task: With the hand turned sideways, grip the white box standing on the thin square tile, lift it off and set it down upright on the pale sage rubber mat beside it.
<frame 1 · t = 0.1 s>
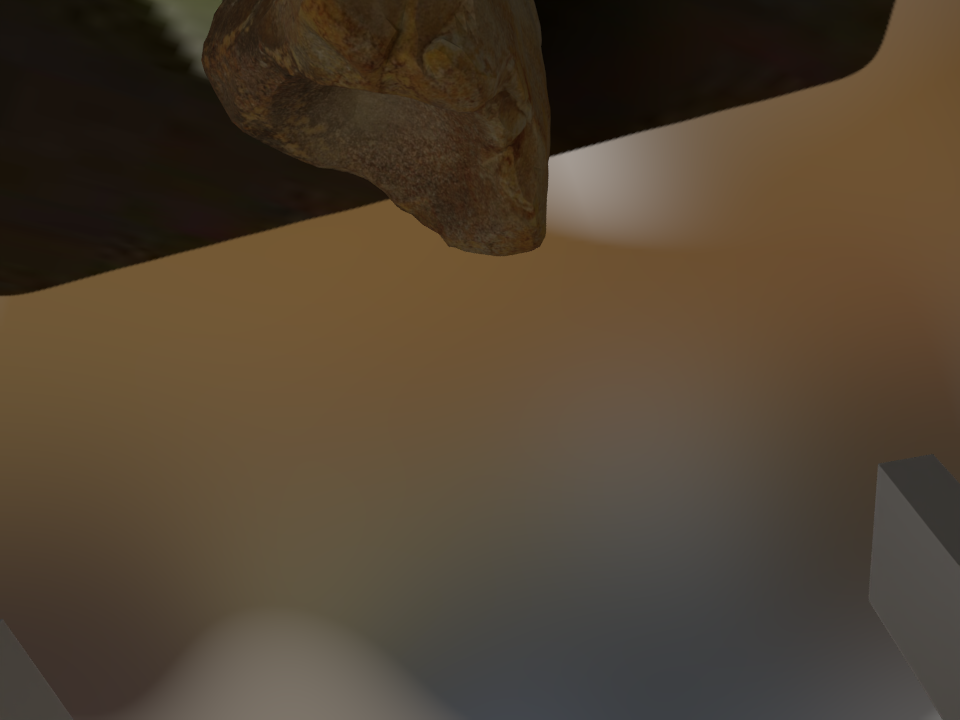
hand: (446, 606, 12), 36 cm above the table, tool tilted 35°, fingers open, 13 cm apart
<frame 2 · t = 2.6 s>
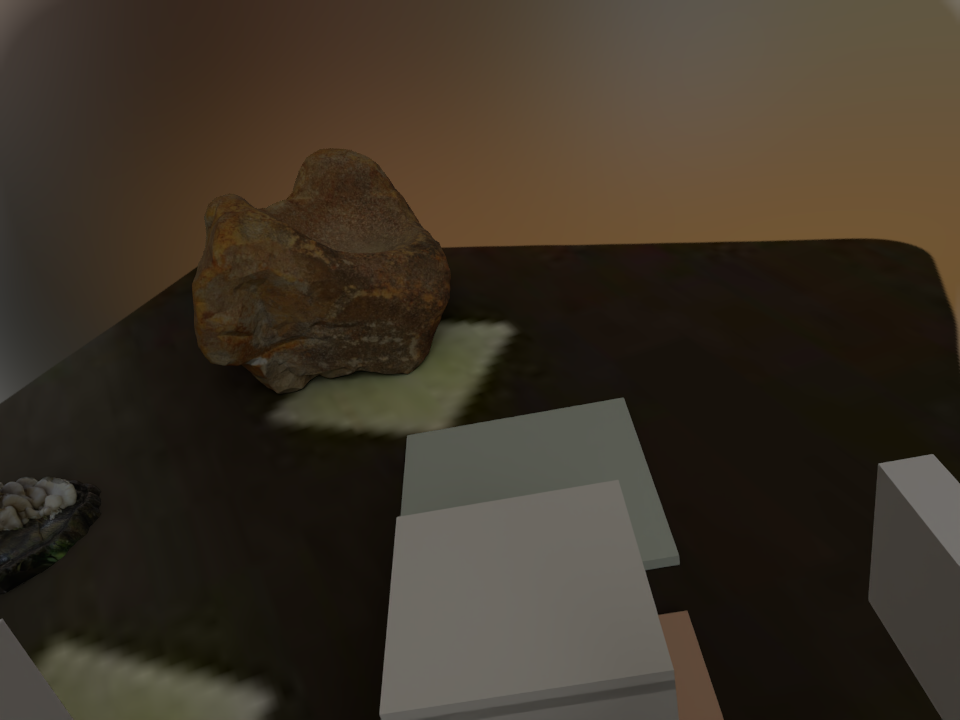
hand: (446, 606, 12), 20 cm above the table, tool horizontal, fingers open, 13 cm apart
rough brown rock: (369, 352, 64), on the table
mat: (524, 494, 45), on the table
log: (11, 547, 51), on the table
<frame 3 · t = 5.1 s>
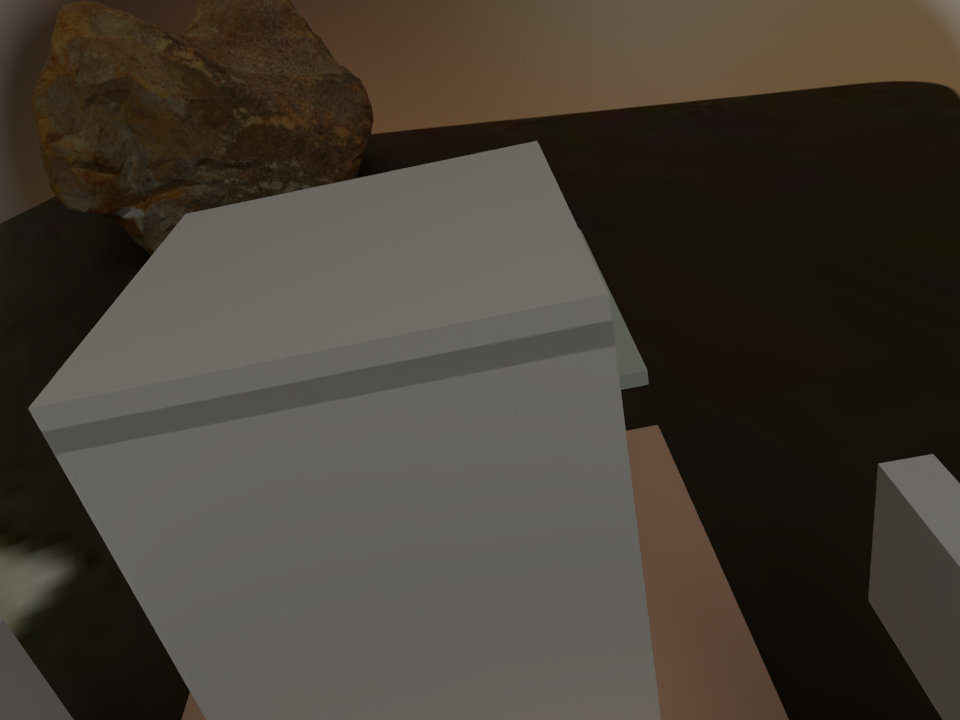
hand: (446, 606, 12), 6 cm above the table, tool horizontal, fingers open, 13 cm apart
rough brown rock: (282, 222, 53), on the table
mat: (448, 331, 34), on the table
thin square tile: (463, 650, 19), on the table
white box: (456, 628, 19), point 1 cm above the table, touching thin square tile
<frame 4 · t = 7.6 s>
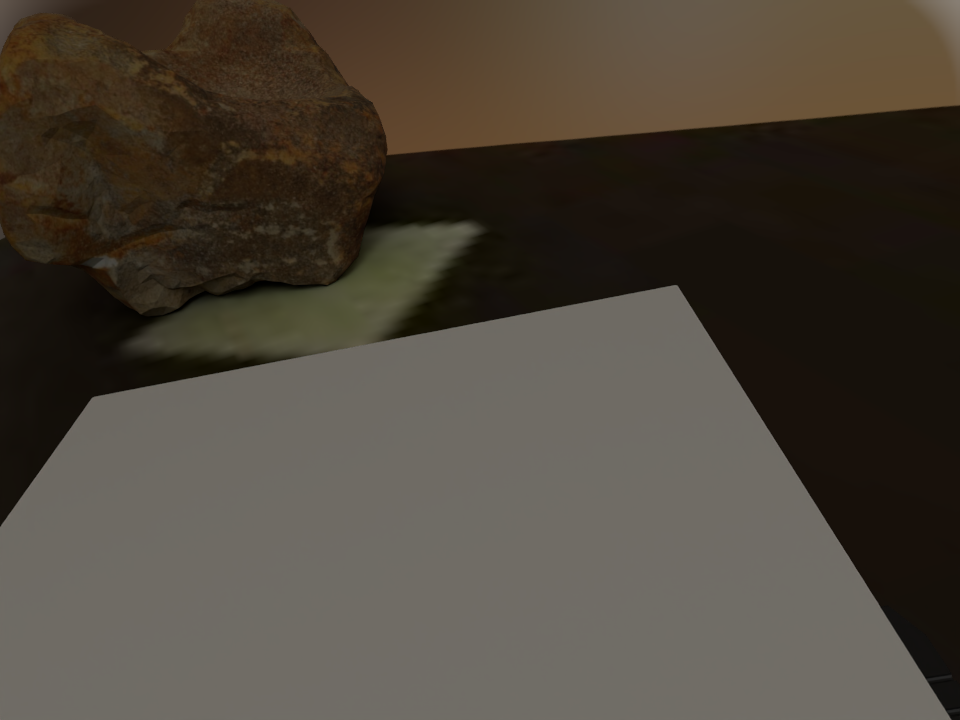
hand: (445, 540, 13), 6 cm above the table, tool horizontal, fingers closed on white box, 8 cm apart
rough brown rock: (281, 265, 46), on the table
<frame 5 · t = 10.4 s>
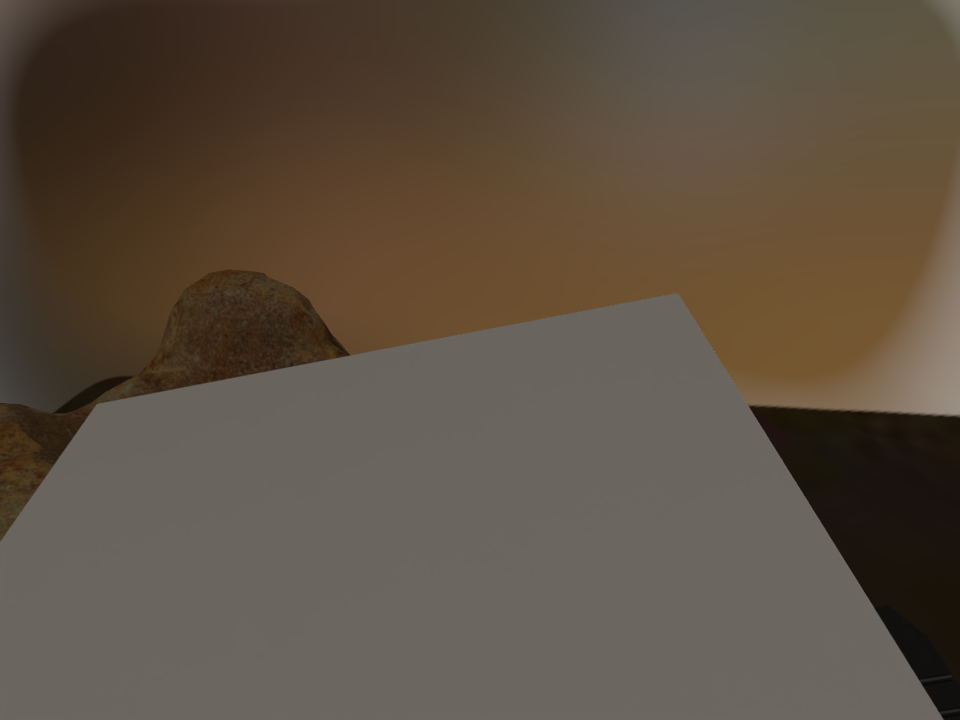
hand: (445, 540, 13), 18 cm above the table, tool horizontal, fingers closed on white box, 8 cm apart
rough brown rock: (291, 628, 37), on the table
when the fingers open (7 cm above the table, at t = 13.6 s): white box drops 1 cm, resting on mat.
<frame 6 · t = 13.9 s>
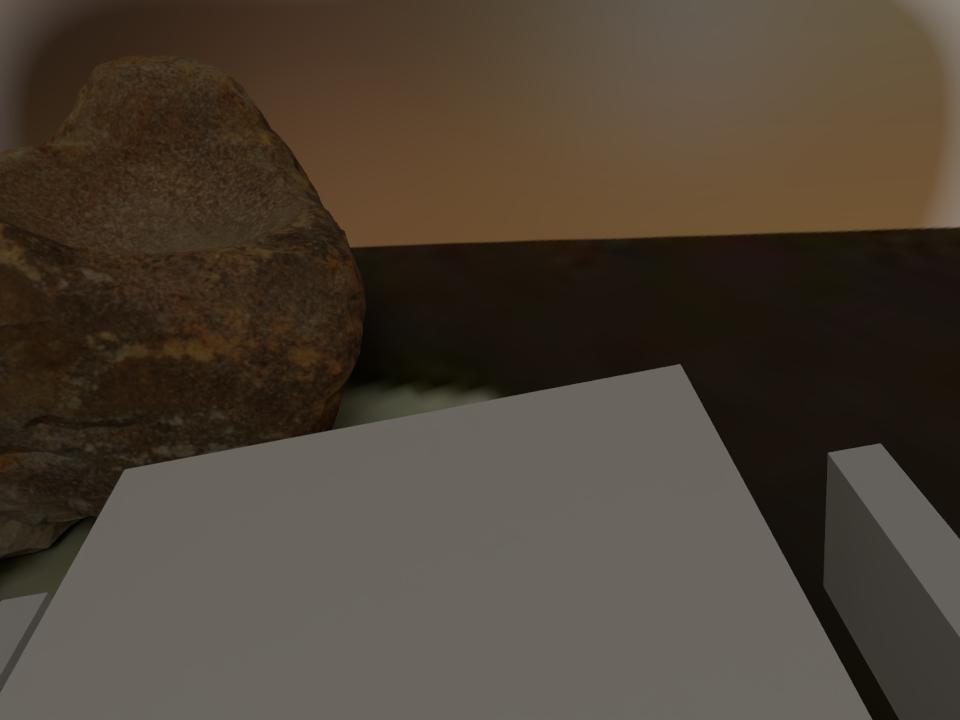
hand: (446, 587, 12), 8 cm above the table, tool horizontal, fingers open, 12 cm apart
rough brown rock: (216, 452, 32), on the table
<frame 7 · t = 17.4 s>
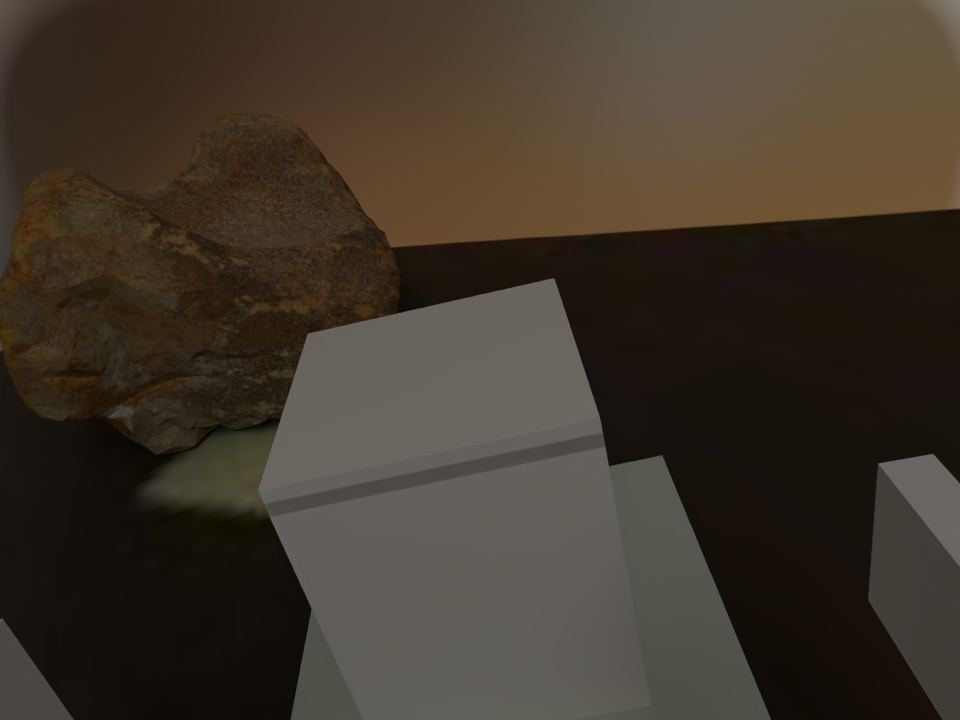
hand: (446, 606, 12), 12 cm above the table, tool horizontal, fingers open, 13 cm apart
rough brown rock: (296, 388, 46), on the table
mat: (507, 634, 27), on the table
white box: (503, 623, 26), point 1 cm above the table, touching mat
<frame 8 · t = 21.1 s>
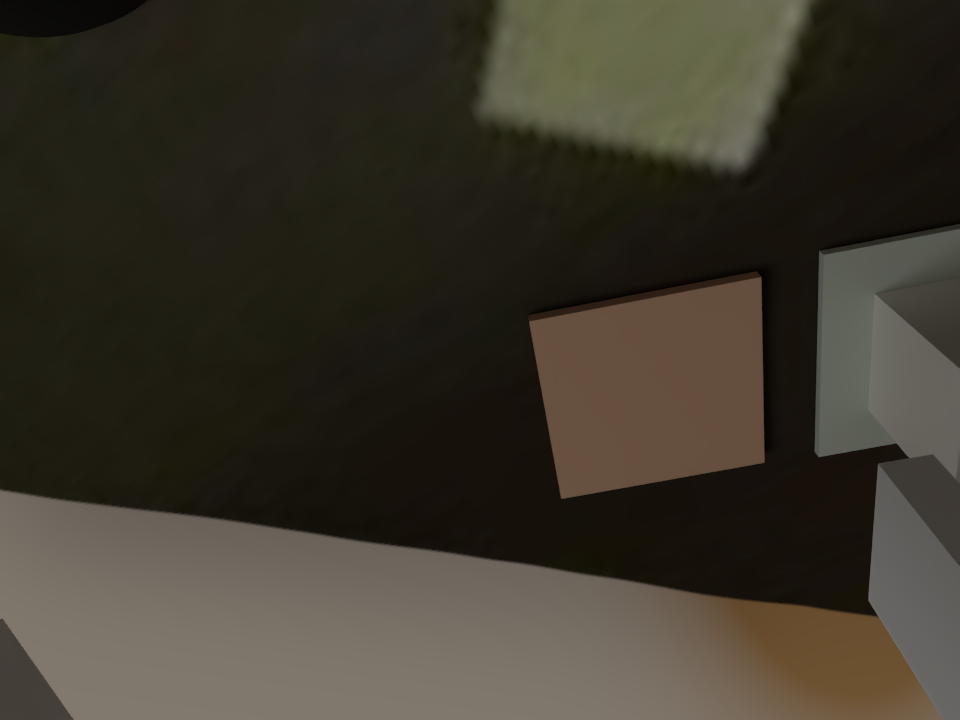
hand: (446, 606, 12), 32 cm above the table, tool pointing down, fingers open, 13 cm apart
mat: (935, 336, 47), on the table
thin square tile: (650, 389, 48), on the table
white box: (940, 341, 47), point 1 cm above the table, touching mat
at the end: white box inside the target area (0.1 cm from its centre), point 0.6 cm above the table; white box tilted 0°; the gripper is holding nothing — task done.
